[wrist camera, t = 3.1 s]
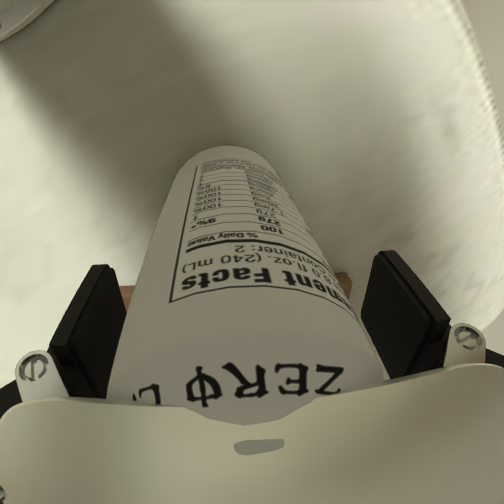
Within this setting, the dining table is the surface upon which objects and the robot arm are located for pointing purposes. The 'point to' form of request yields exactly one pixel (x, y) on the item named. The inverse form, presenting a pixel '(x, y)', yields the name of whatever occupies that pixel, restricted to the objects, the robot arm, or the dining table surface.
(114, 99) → the dining table surface
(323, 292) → the energy drink can
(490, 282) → the dining table surface
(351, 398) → the robot arm
